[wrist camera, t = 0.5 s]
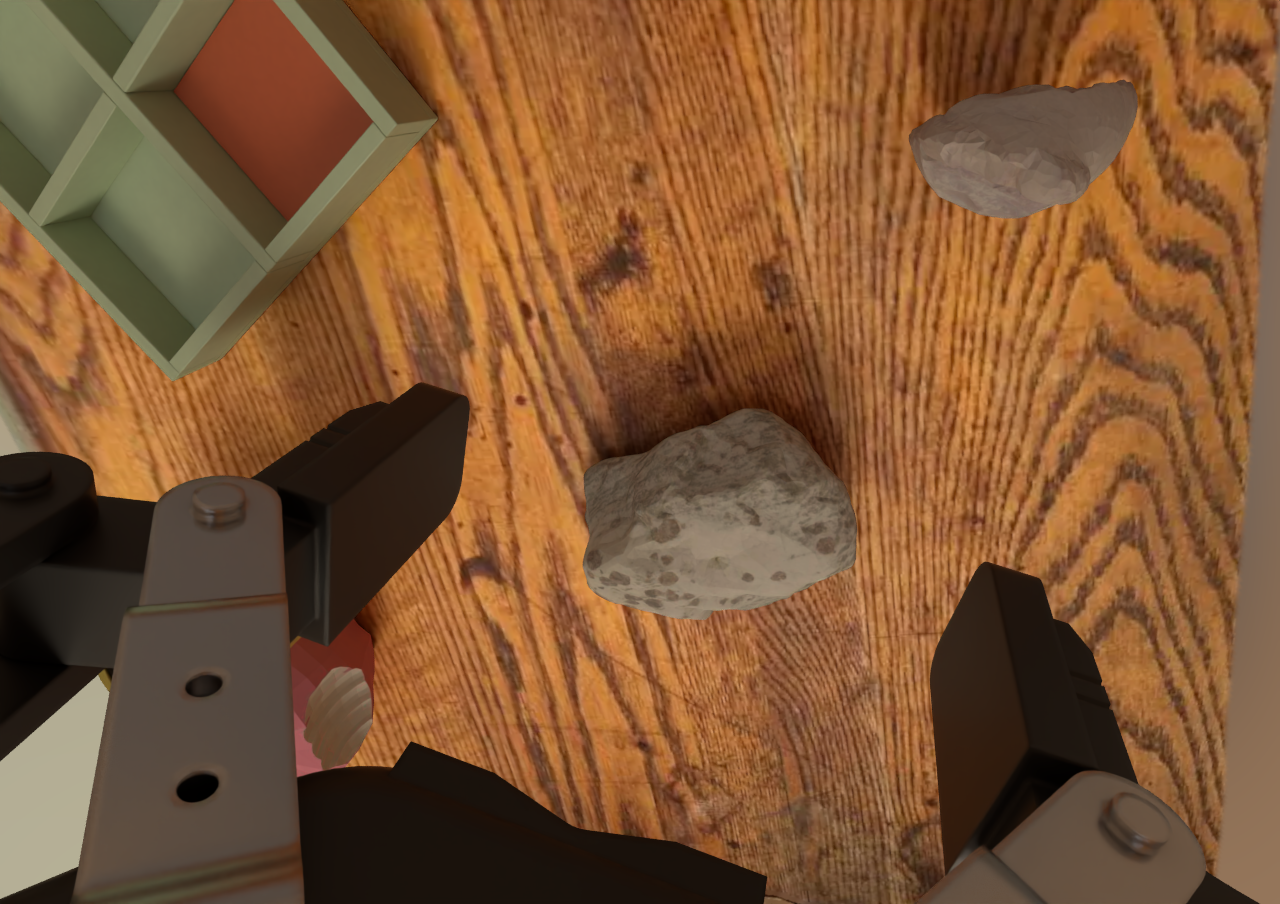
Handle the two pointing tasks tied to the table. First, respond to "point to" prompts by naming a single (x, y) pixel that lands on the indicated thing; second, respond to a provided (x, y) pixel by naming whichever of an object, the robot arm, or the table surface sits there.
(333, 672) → the apple
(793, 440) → the decorative stone
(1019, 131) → the grey brown rock
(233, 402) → the table surface
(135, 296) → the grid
